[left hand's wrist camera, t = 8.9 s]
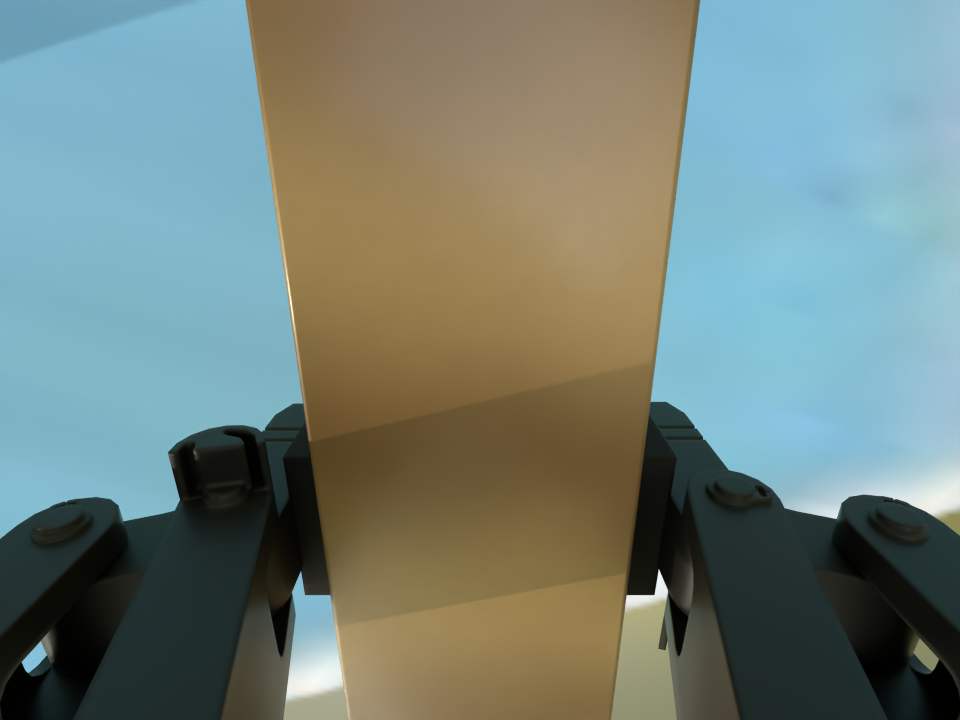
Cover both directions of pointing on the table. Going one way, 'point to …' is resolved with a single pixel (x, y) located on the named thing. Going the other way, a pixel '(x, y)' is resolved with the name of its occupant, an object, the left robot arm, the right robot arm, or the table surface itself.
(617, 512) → the bar
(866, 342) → the table surface
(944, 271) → the table surface
